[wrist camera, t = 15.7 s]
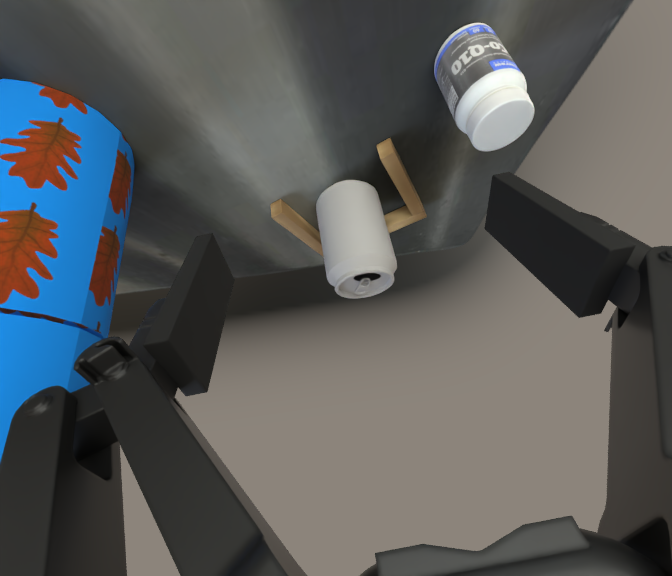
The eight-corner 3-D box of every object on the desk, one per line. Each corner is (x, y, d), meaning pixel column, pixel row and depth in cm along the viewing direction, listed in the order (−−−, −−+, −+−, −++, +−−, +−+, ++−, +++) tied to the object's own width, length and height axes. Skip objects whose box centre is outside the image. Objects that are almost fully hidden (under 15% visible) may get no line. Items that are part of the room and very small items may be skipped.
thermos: (-43, 38, 19) (-392, 550, 8) (152, 131, 26) (100, 471, 15) (-33, 156, 26) (-220, 525, 15) (120, 205, 33) (68, 478, 22)
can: (386, 177, 35) (414, 269, 30) (364, 219, 41) (384, 301, 36) (322, 171, 33) (340, 269, 28) (309, 217, 39) (322, 303, 34)
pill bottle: (497, 6, 22) (550, 78, 18) (492, 71, 26) (534, 140, 22) (429, 40, 23) (467, 113, 19) (434, 96, 27) (466, 165, 24)
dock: (325, 248, 46) (327, 260, 45) (270, 204, 36) (271, 217, 35) (422, 204, 40) (427, 217, 40) (389, 137, 30) (394, 151, 29)
